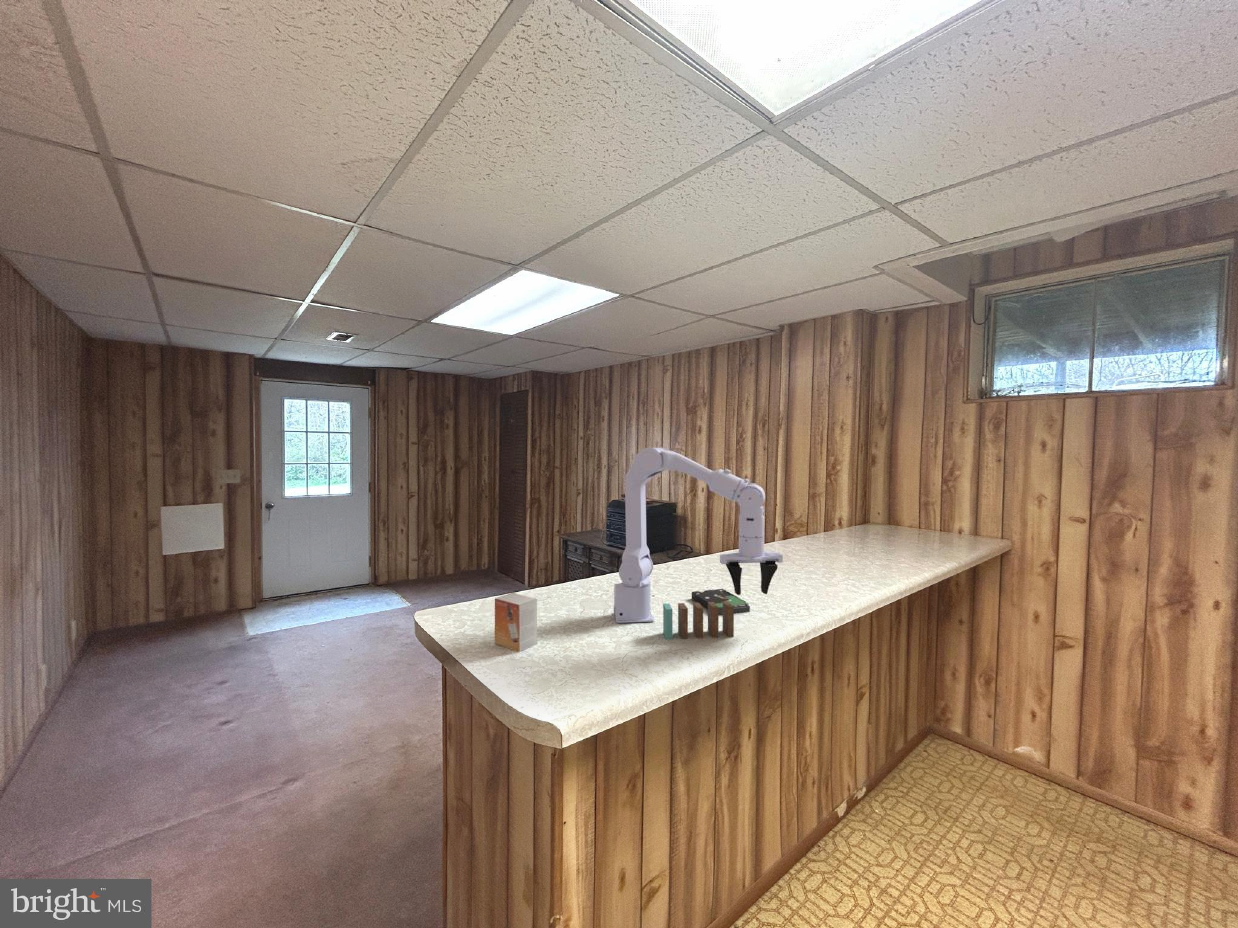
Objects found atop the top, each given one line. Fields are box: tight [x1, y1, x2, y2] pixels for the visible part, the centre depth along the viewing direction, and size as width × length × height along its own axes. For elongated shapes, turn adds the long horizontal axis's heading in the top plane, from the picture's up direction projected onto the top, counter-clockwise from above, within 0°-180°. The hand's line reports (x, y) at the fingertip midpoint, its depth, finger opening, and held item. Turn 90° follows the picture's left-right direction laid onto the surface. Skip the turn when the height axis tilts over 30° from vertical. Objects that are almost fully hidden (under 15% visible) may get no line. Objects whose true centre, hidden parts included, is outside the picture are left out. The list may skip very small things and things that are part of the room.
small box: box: [494, 592, 538, 653], centre depth 111 cm, size 8×6×10 cm
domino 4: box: [722, 602, 735, 638], centre depth 117 cm, size 1×4×7 cm, turn 5°
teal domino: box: [662, 603, 673, 641], centre depth 115 cm, size 1×4×7 cm, turn 5°
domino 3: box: [707, 602, 720, 639], centre depth 116 cm, size 1×4×7 cm, turn 5°
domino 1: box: [677, 602, 689, 640], centre depth 116 cm, size 1×4×7 cm, turn 5°
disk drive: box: [691, 588, 751, 616], centre depth 137 cm, size 10×3×15 cm
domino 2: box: [692, 602, 704, 639], centre depth 116 cm, size 1×4×7 cm, turn 5°
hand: (750, 593), depth 117 cm, fingers open, 6 cm apart
